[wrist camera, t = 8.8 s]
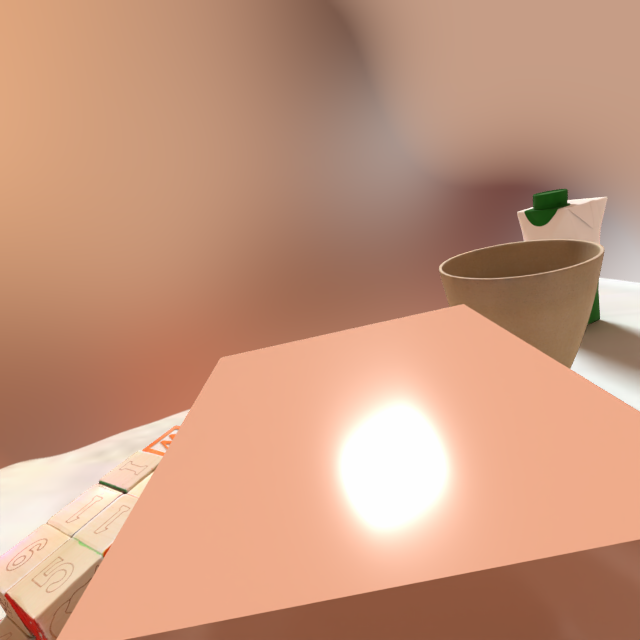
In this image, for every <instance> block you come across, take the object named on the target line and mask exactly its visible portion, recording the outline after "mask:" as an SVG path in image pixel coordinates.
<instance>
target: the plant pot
mask: <svg viewBox="0 0 640 640" xmlns="http://www.w3.org/2000/svg"><path fill="white" fill-rule="evenodd" d="M603 256H604V247H603V246H602V245H600V244H597V243H594V242H590V241H584V240H573V239H547V240H532V241H522V242H515V243H508V244H501V245H496V246H491V247H486V248H482V249H477V250H473V251H470V252H467V253H463V254H460V255H457V256H455V257H452V258H450V259H448V260H447V261H445V262H443V263H442V264H441V265H440V267H439V271H440V275H441V280H442V283H443V286H444V289H445V293H446V297H447V300H448V304H449V307H452V306H457V305H461V304H464V305H466V306H468V307H469V308H471V309H473V310H474V311H476V312H477V313H479V314H481V315H482V316H484V317H486V318H487V319H489V320H491V321H492V322H494V323H495V324H497V325H499V326H500V327H502V328H504V329H505V330H507V331H509V332H510V333H512V334H513V335H515V336H517V337H518V338H520V339H522V340H523V341H525V342H526V343H528V344H530V345H531V346H533V347H535V348H536V349H538V350H540V351H541V352H543V353H544V354H546V355H548V356H549V357H551V358H553V359H554V360H556V361H558V362H559V363H561V364H562V365H564V366H566V367H567V368H569V369H570V368H571V366H572V364H573V361H574V359H575V357H576V354H577V352H578V349H579V347H580V344H581V341H582V338H583V336H584V333H585V330H586V327H587V323H588V320H589V317H590V313H591V310H592V306H593V302H594V298H595V294H596V290H597V285H598V281H599V276H600V271H601V266H602V260H603Z"/></svg>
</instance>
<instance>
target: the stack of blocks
mask: <svg viewBox="0 0 640 640" xmlns="http://www.w3.org/2000/svg"><path fill="white" fill-rule="evenodd" d="M179 428H180V426H174V427H173V428H171V429H170V430H169V431H167V432H166V433H165V434H163V435H162V436H161V437H159V438H158V439H157V440H155V441H154V442H153V443H151V444H150V445H149V446H147V447H146V448H145V449H143V450H142V451H137V452H136V453H134V454H133V455H132V456H130V457H129V458H128V459H126V460H125V461H124V462H122V463H121V464H120V465H118V466H117V467H116V468H114V469H113V470H112V471H110V472H109V473H108V474H106V475H105V476H104V477H102V478H101V479H100V481H99V483H98V484H95V485H93V486H92V487H90V488H89V489H88V490H87V491H85V492H84V493H83V494H81V495H80V496H79V497H78V498H76V499H75V500H73V501H72V502H71V503H69V504H68V505H67V506H66V507H64V508H63V509H62V510H61V511H59V512H58V513H57V514H55V515H54V516H52V517H51V518H50V519H49V520H48V522H47V523H46V524H44V525H41V526H40V527H39V528H37V529H36V530H35V531H34V532H32V533H31V534H30V535H28V536H27V537H26V538H24V539H23V540H22V541H20V542H19V543H18V544H16V545H15V546H14V547H13V548H11V549H10V550H9V551H7V552H6V553H5V554H3V555H2V556H1V557H0V605H1V606H2V608H3V609H4V611H5V613H6V614H7V615H6V616H5V617H4V618H3V619H2V620H0V640H56V639H57V638H58V636H59V634H60V632H61V631H62V629H63V627H64V626H65V624H66V622H67V620H68V619H69V617H70V615H71V614H72V612H73V610H74V608H75V607H76V605H77V603H78V602H79V600H80V598H81V596H82V595H83V593H84V591H85V590H86V588H87V586H88V584H89V583H90V581H91V579H92V577H93V576H94V574H95V572H96V571H97V569H98V567H99V565H100V564H101V562H102V560H103V559H104V557H105V555H106V553H107V552H108V550H109V548H110V547H111V545H112V543H113V541H114V540H115V538H116V536H117V535H118V533H119V531H120V529H121V528H122V526H123V524H124V523H125V521H126V519H127V517H128V516H129V514H130V512H131V511H132V509H133V507H134V505H135V504H136V502H137V500H138V499H139V497H140V495H141V493H142V492H143V490H144V488H145V487H146V485H147V483H148V481H149V480H150V478H151V476H152V475H153V473H154V471H155V469H156V468H157V466H158V464H159V463H160V461H161V459H162V457H163V456H164V454H165V452H166V451H167V449H168V447H169V445H170V444H171V442H172V440H173V438H174V437H175V435H176V433H177V432H178V430H179Z"/></svg>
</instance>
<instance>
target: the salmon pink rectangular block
mask: <svg viewBox="0 0 640 640" xmlns="http://www.w3.org/2000/svg"><path fill="white" fill-rule="evenodd" d="M56 640H640V412H639V411H638V410H636V409H634V408H633V407H631V406H629V405H628V404H626V403H625V402H623V401H621V400H620V399H618V398H616V397H615V396H613V395H612V394H610V393H608V392H607V391H605V390H603V389H602V388H600V387H598V386H597V385H595V384H594V383H592V382H590V381H589V380H587V379H585V378H584V377H582V376H580V375H579V374H577V373H576V372H574V371H572V370H571V369H569V368H567V367H566V366H564V365H562V364H561V363H559V362H558V361H556V360H554V359H553V358H551V357H549V356H548V355H546V354H544V353H543V352H541V351H540V350H538V349H536V348H535V347H533V346H531V345H530V344H528V343H526V342H525V341H523V340H522V339H520V338H518V337H517V336H515V335H513V334H512V333H510V332H509V331H507V330H505V329H504V328H502V327H500V326H499V325H497V324H495V323H494V322H492V321H491V320H489V319H487V318H486V317H484V316H482V315H481V314H479V313H477V312H476V311H474V310H473V309H471V308H469V307H468V306H466V305H464V304H461V305H457V306H452V307H448V308H444V309H439V310H435V311H430V312H426V313H421V314H417V315H412V316H407V317H403V318H398V319H394V320H389V321H385V322H380V323H376V324H371V325H367V326H362V327H357V328H353V329H349V330H344V331H339V332H335V333H330V334H326V335H322V336H317V337H312V338H308V339H303V340H299V341H294V342H290V343H285V344H281V345H276V346H272V347H267V348H263V349H258V350H254V351H249V352H245V353H240V354H236V355H231V356H227V357H222V358H220V360H219V361H218V363H217V365H216V367H215V368H214V370H213V372H212V373H211V375H210V377H209V378H208V380H207V382H206V384H205V385H204V387H203V389H202V390H201V392H200V394H199V396H198V397H197V399H196V401H195V402H194V404H193V406H192V408H191V409H190V411H189V413H188V414H187V416H186V418H185V420H184V421H183V423H182V425H181V426H180V428H179V430H178V432H177V433H176V435H175V437H174V438H173V440H172V442H171V444H170V445H169V447H168V449H167V451H166V452H165V454H164V456H163V457H162V459H161V461H160V463H159V464H158V466H157V468H156V469H155V471H154V473H153V475H152V476H151V478H150V480H149V481H148V483H147V485H146V487H145V488H144V490H143V492H142V493H141V495H140V497H139V499H138V500H137V502H136V504H135V505H134V507H133V509H132V511H131V512H130V514H129V516H128V517H127V519H126V521H125V523H124V524H123V526H122V528H121V529H120V531H119V533H118V535H117V536H116V538H115V540H114V541H113V543H112V545H111V547H110V548H109V550H108V552H107V553H106V555H105V557H104V559H103V560H102V562H101V564H100V565H99V567H98V569H97V571H96V572H95V574H94V576H93V577H92V579H91V581H90V583H89V584H88V586H87V588H86V590H85V591H84V593H83V595H82V596H81V598H80V600H79V602H78V603H77V605H76V607H75V608H74V610H73V612H72V614H71V615H70V617H69V619H68V620H67V622H66V624H65V626H64V627H63V629H62V631H61V632H60V634H59V636H58V638H57V639H56Z"/></svg>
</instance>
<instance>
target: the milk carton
mask: <svg viewBox="0 0 640 640" xmlns="http://www.w3.org/2000/svg"><path fill="white" fill-rule="evenodd" d="M567 193H568V192H567V189H559V190H552V191H546V192H542V193H537V194H534V195H533V208H529V209H525V210H522V211H519V212H517V214H518V218H519V222H520V226H521V229H522V234H523V239H524V241H532V240H547V239H573V240H584V241H590V242H594V243H597V244H600V229H601V223H602V219H603V214H604V210H605V206H606V202H607V197H599V198H588V199H577V200H568V197H567V196H568V194H567ZM598 285H599V281H598ZM598 285H597V290H596V294H595V298H594V302H593V306H592V310H591V313H590V317H589V320H588V323H587V325H588V324H590V323H593V322H595V321H597V320H599V319H600V310H599V294H598Z"/></svg>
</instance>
